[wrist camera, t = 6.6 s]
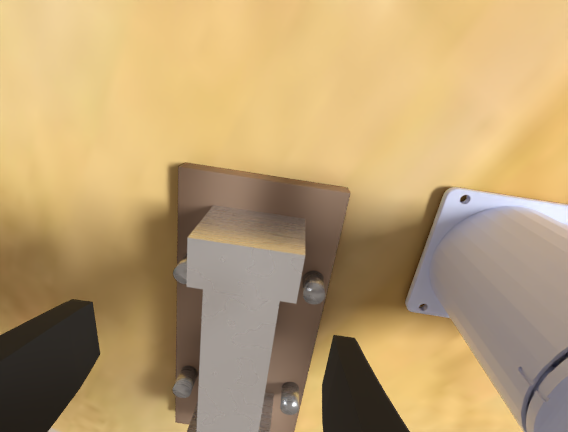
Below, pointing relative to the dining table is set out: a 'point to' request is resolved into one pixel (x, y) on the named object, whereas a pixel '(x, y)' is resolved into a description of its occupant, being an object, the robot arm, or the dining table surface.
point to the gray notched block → (240, 311)
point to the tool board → (291, 317)
